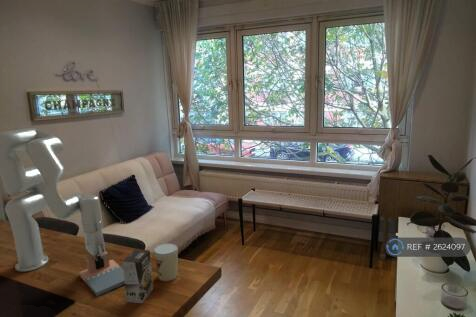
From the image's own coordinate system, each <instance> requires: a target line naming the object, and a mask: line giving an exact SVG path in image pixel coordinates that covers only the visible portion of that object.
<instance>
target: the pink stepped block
mask: <svg viewBox="0 0 476 317" xmlns="http://www.w3.org/2000/svg"><path fill="white" fill-rule="evenodd" d="M103 254H104V257H103V260H104V267H103V268H100V269H98V270H97V269H96V264H95V260H96V258H95V256H93V255H92V256H91V255H90V256H87V257H85V260H86V268H85V269H84V270H81V271H79V272H78V275H79V277H80V278H81V279H82V280H83V281H84V283H85V284H86V281H85V280H86V279H88V278H91V277H93V276H96V275H98V274H101V273H103V272H106V271H108V270H111V269H113V268H116V267H118V266H120V265H119V264H118V263H117V262H116V261H115V260H114V259H109V258H110V257H109V253H108V251H106V250H105V252H103ZM98 256H99V255H97V257H98Z"/></svg>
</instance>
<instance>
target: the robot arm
mask: <svg viewBox="0 0 476 317" xmlns="http://www.w3.org/2000/svg"><path fill="white" fill-rule="evenodd" d="M20 151H26V152H25V153H26V154H27V156H28V157H29V159H30V160H31V162H32V163H33V165H34V166H30V167H24V163H23V160H22V158H21V157H20V156H19V154H18V153H17V152H20ZM63 152H64V144H63V141H61V139H60V138H58V137H57V136H55V135H53V134H51V133H47V132H45V131H42V130H40V129H38V128H33V127H32V128H31V127H30V128H29V127H27V128H20V129H15V130H14V129H13V130H8V131H3V132H1V133H0V178H1V181H2V185H3V188H4V191H5V192H6V193H7V194H8V195H19V194H21V195H19V196H16V197H14V198H12V199H10V200H9V201H8V202H6V204H5V208H4V211H5V214H6V216H7V219H8V221H9V224H10V226H11V230H12V235H13V240H14V241H13V242H14V245H15V250H16V256H17V260H18V262H17V263H16V264H15V266H14V268H15V271H17V272H21V273H22V272H30V271H34V270H37V269H39V268H42V267H43V266H45V265H47V263H48V262H49V257H48V255H46V254H44V250H43V243H42V239H41V233H40V228H39V227H40V226H39V224H38V222H37V221H36V220H35V218H33V215H35V214H37V213H39V212H42V211H44V210H45V209H47V208H49V210H50V211H51V213H52V214H53V215H54V217H56V218H58V219H61V220H64V219H69V218H70V217H72V216H74V215H76V214H78V213H80V218H81V222H82V223H81V224H82V231H83V232H84V233H83V234H84V244H85V250H86V251H87V252H88V253H89V254H90V256H92V255H93V256H95V258H96V260H95V264H96V269H97V270H98V269H100V268H103V267H104V260H103V257H104V254H103V252H105V251H106V247H105V245H106V244H105V240H104V234H103V231H102V230H103V229H104V223H103V217H102V215H103V214H102V207H101V201H100V197H99V196H98V195H96V194H85V193H82V192H76V193H73V194H71V195H69V196H66V197H64V198H62V196H61V194H60V192H59V189H58V183H59V180H60V178H61V177H62V176H63V175H64V174H65V173H66V172H65V171H66V169H65V166H64V165H63V164H62V162H61V161H60V158H59V157H58V156H59V155H61V154H62V153H63ZM25 192H26V193H25ZM22 193H24V194H22ZM97 255H99V256H98V257H97Z"/></svg>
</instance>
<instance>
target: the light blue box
mask: <svg viewBox="0 0 476 317" xmlns="http://www.w3.org/2000/svg"><path fill="white" fill-rule="evenodd" d="M85 281H86V283H85V284H86V285H87V286H88V288H89V289H90V290H91V291H92V292H93V293H94V295H95V296H96V297H98V296H101V295H103V294H106V293H107V292H110V291H112V290H114V289H117V288H119V287H121V286H123V285H124V286H125V279H124V271H123V267H121V265H119V266H118V267H116V268H113V269H111V270H108V271H106V272H103V273H101V274H98V275H96V276H93V277H91V278H88V279H86V280H85ZM85 281H84V282H85Z"/></svg>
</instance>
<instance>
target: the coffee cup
mask: <svg viewBox="0 0 476 317" xmlns="http://www.w3.org/2000/svg"><path fill="white" fill-rule="evenodd" d="M153 255H154V259H155V264H156V265H155V266H156V271H157V272H156V273H157V276H158V279H159V280H160V281H163V282H167V281H168V282H169V281H172V280H174V279H176V278H177V277H178V271H179V270H178V268H179V265H178V262H179V261H178V260H179V259H178V255H179V254H178V246H177V245H176V244H174V243H168V242H167V243H163V244H159V245H158V246H156V247H155V248H154V250H153Z"/></svg>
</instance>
